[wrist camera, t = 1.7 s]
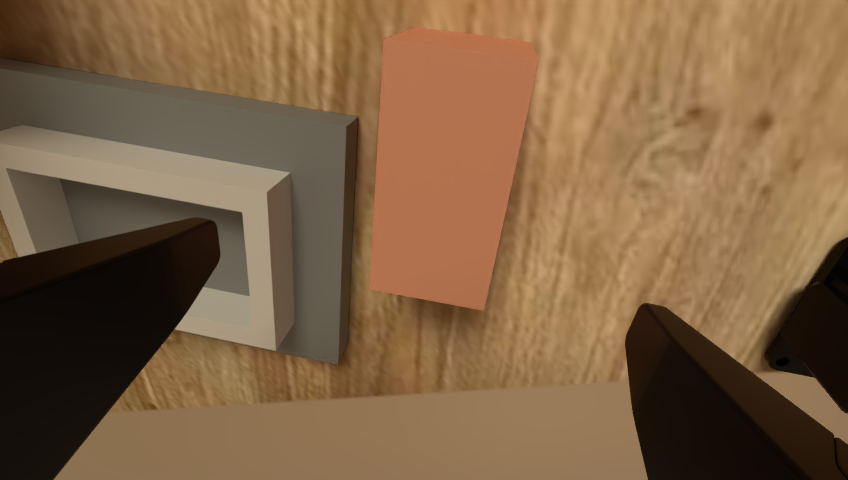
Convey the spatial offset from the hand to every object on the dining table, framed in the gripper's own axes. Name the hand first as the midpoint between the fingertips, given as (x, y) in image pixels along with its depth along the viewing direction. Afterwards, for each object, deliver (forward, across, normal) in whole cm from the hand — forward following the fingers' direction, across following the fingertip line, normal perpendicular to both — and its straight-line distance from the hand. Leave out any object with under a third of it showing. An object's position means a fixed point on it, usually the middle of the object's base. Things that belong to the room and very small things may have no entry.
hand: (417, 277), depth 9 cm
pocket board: (+9, +12, +6) cm, 16 cm away
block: (+10, 0, 0) cm, 10 cm away
